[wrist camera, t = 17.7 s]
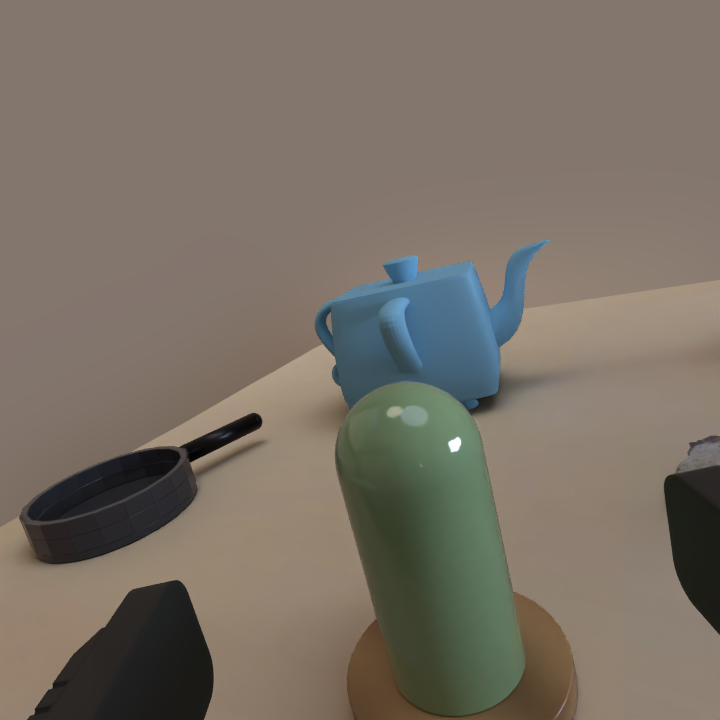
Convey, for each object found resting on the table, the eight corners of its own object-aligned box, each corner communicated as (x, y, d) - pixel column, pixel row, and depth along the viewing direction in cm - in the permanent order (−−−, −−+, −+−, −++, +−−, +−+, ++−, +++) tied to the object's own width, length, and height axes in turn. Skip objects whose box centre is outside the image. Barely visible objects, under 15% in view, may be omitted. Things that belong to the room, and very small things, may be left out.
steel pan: (59, 584, 33) (41, 542, 33) (20, 537, 42) (5, 503, 42) (224, 492, 41) (212, 456, 40) (161, 468, 50) (151, 439, 49)
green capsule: (409, 738, 17) (324, 430, 14) (380, 633, 21) (313, 388, 19) (552, 688, 17) (492, 382, 15) (493, 596, 22) (441, 352, 19)
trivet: (496, 855, 14) (489, 826, 14) (310, 708, 20) (303, 686, 20) (616, 650, 19) (613, 626, 19) (440, 581, 25) (435, 563, 25)
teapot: (397, 455, 40) (354, 279, 37) (320, 412, 55) (285, 284, 52) (574, 378, 47) (550, 223, 44) (463, 358, 62) (440, 242, 59)
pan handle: (183, 468, 44) (177, 451, 44) (175, 465, 46) (169, 448, 45) (267, 426, 50) (262, 411, 50) (258, 425, 51) (253, 409, 51)
